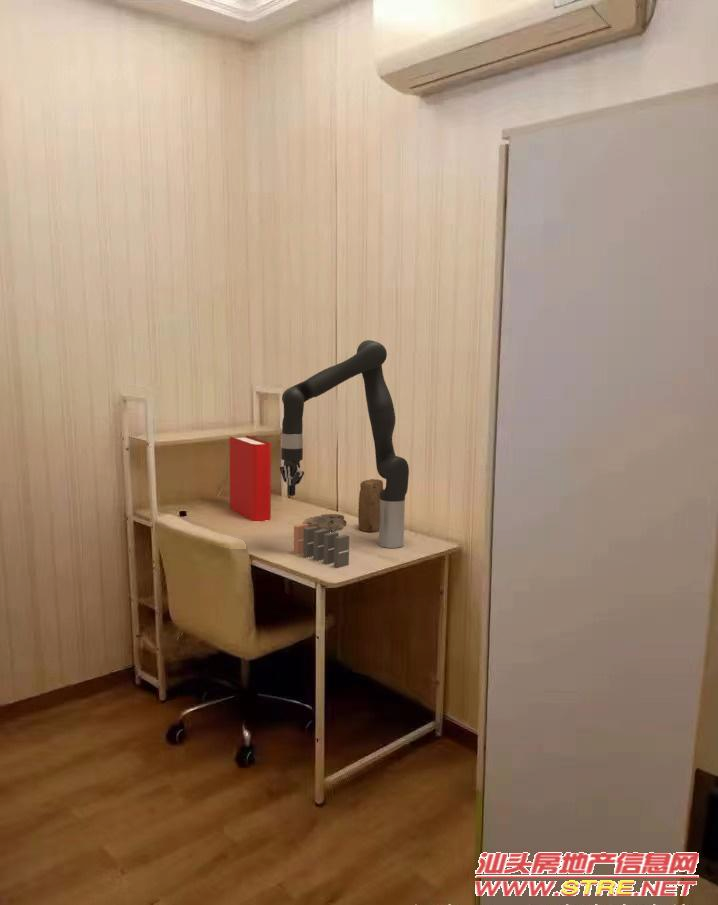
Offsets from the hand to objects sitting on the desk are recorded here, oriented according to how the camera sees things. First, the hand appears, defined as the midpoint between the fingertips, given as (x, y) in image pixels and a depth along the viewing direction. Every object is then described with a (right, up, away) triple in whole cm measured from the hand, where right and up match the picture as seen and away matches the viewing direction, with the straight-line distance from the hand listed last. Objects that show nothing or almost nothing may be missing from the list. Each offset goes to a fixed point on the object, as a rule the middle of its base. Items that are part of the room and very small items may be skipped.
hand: (291, 495), depth 256 cm
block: (+29, -16, +35) cm, 48 cm away
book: (-23, -12, +56) cm, 62 cm away
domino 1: (+3, -20, +1) cm, 21 cm away
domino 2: (+7, -21, -2) cm, 22 cm away
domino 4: (+14, -22, -9) cm, 28 cm away
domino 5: (+18, -23, -12) cm, 31 cm away
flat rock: (+11, -15, +38) cm, 42 cm away
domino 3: (+10, -21, -5) cm, 25 cm away
